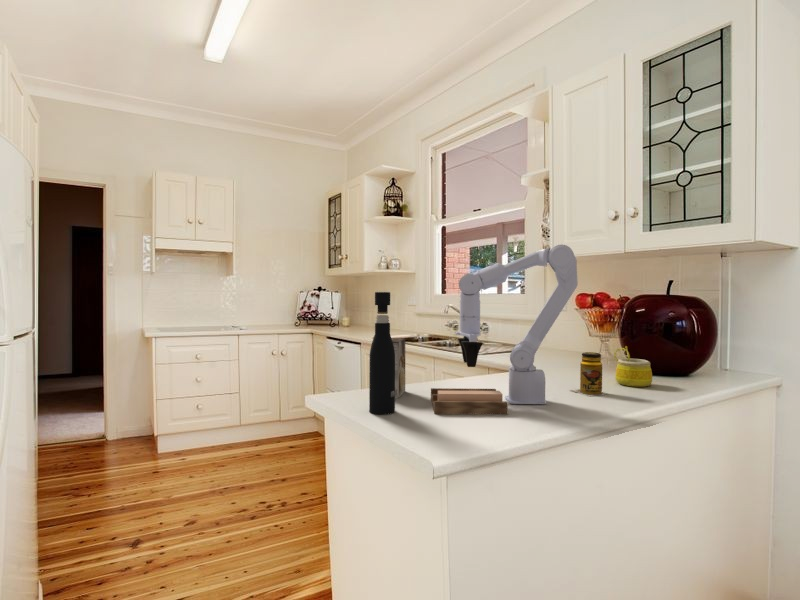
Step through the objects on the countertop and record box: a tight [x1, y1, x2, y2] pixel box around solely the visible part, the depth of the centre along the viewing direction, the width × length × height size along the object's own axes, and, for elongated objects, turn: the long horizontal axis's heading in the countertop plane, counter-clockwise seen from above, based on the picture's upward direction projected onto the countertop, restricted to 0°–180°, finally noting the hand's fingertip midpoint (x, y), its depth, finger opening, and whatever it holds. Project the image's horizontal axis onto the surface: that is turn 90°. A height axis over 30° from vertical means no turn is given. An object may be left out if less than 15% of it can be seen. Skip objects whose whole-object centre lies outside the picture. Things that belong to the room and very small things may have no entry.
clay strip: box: [438, 390, 503, 401], centre depth 123 cm, size 16×4×3 cm, turn 90°
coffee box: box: [391, 337, 406, 399], centre depth 141 cm, size 9×6×16 cm
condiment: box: [569, 351, 609, 397], centre depth 145 cm, size 7×8×12 cm
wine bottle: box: [368, 291, 396, 416], centre depth 121 cm, size 6×6×30 cm
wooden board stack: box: [430, 387, 509, 416], centre depth 127 cm, size 18×16×3 cm
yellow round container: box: [614, 345, 653, 388], centre depth 157 cm, size 13×11×12 cm
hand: (469, 364), depth 137 cm, fingers open, 7 cm apart
